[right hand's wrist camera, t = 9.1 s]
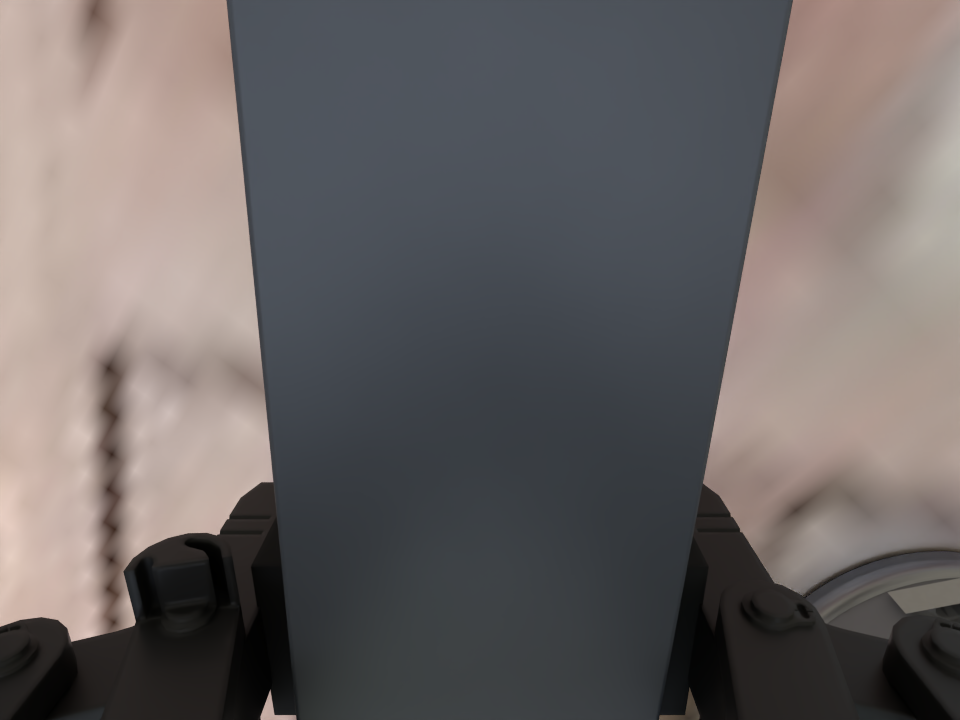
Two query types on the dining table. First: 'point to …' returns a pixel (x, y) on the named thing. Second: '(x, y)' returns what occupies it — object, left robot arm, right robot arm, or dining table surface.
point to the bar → (494, 333)
